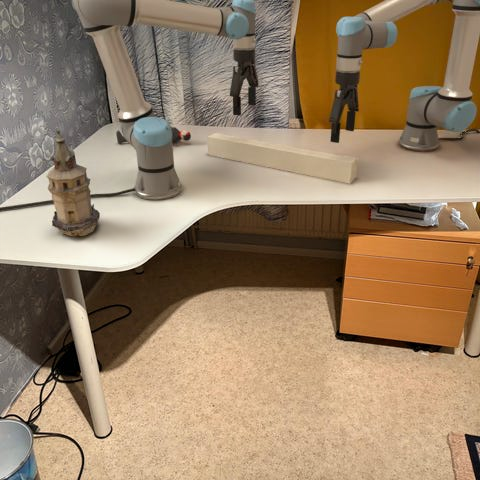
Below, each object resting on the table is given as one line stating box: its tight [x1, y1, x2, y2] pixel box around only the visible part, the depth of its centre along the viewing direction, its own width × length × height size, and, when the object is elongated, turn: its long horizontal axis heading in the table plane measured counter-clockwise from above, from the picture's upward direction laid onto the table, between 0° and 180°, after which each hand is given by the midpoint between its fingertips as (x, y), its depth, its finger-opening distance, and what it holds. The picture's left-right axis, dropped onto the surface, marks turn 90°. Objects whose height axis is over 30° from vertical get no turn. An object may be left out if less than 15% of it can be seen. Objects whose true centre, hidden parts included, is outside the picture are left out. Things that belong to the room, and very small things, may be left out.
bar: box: [207, 132, 358, 184], centre depth 195 cm, size 58×5×7 cm, turn 59°
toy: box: [115, 126, 192, 146], centre depth 219 cm, size 26×6×30 cm
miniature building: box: [46, 129, 101, 237], centre depth 148 cm, size 13×14×30 cm
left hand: (244, 110), depth 193 cm, fingers open, 13 cm apart
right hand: (342, 136), depth 178 cm, fingers open, 13 cm apart
